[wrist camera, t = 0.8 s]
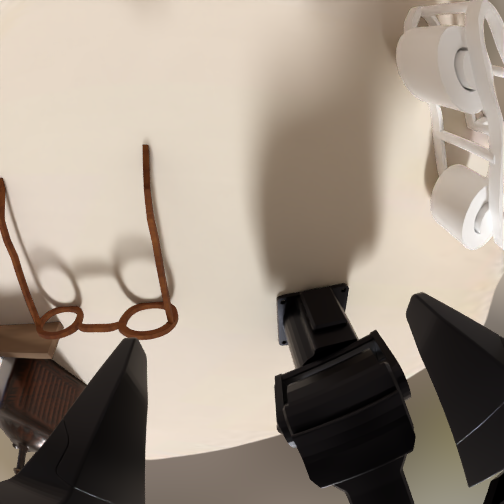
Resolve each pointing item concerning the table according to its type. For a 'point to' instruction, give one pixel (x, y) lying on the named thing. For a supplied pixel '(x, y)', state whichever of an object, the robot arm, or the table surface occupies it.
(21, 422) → the coffee grinder
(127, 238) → the table surface
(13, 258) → the glasses
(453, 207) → the toilet paper holder
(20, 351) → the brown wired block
